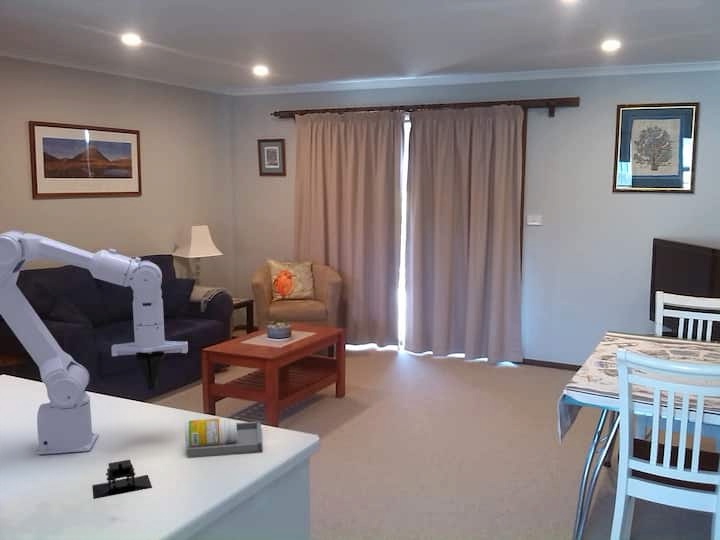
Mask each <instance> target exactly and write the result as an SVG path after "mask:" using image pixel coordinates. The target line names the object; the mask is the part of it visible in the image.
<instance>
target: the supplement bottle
mask: <svg viewBox="0 0 720 540" xmlns="http://www.w3.org/2000/svg"><path fill="white" fill-rule="evenodd" d="M236 423H237V421H236V420H229V421H228V422H227V421H226V420H225V418H220V417H219V418H208V419H207V418H206V419H195V420H186V421H185V425H184V427H185V429H184V430H185V431H184V432H185V433H184V434H185V435H184V437H185V448H186V450H187V449H188V448H192V447H206V446H220V445H225V444H226V442H227V441H230V442H235V441H237V426H236Z"/></svg>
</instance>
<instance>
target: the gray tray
mask: <svg viewBox="0 0 720 540" xmlns="http://www.w3.org/2000/svg"><path fill="white" fill-rule="evenodd" d="M236 426H237V441H235V442H230V441H227V442H226V444H225V445H220V446H206V447H192V448H188V449H187V448H186V451H187V458H197V457H198V458H200V457H211V456H212V457H213V456H226V454H228V455H238V454H251V453H252V454H253V453H262V452H263V443H262V442H263V441H262V422H261V421H245V422H236Z"/></svg>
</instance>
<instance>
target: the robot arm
mask: <svg viewBox="0 0 720 540" xmlns="http://www.w3.org/2000/svg"><path fill="white" fill-rule="evenodd" d="M42 259H46V260H52V261H55V262H59V263H62V264H67V265H71V266H74V267H79V268H82V269H86V270H88V271H89V272H90V274H91V276H92V278H94V279H98V280H101V281H104V282H108V283H111V284H114V285H118V286H121V287H124V288H125V287H130V288H131V290H132V292H133V294H132V296H133V301H132V312H133V315H132V317H133V332H134V342H127V343H117V344H112V346H111V348H110V349H111V357H118V356H126V355H127V356H129V355H130V356H131V355H135V359H134V361H135V363H136V364H137V366H138V367H139V369H140V371H141V373H142V375H143V377H144V379H145V382H146V387H147V390H148V391H155V390H156V389H157V386H158V377H159V372H160V370H161V366H162V363H163V360H164V357H165V355H166V354H175V353H181V354H187V353H188V351H189V343H188V341H178V340H177V341H176V340H175V341H173V340H172V341H171V340H166V339H165V321H164V318H165V317H164V300H163V298H162V296H163V292H162V291H163V290H162V288H161V286H162V282H163V280H162V279H163V273H162V270H161V268H160V267H159V266H158V265H157V264H155V263H154V262H151V261H150V260H142V258H140V257H137V256H136V257H135V258H132V257H129V256H125V255H123V254H118V253H117V249H113V248H109V249H108V250H106V249H101V250H99V251H97V252H95V253H92V252H89V251H88V250H84V249H81V248H79V247H76V246H73V245H70V244H67V243H63V242H61V241H57V240H55V239H52V238H49V237H46V236H42V235H38V234H35V233H29V232H27V233H24V232H23V231H20V230H14V229H12V230H7V231H4V232H3V233H1V234H0V315H1V317H2V319H4V322H6V324H7V325H8V327H9V328H10V329H11V330H12V332H13V334H14V335H15V337H16V338H17V339H18V340H19V342H20V343H21V344H22V346H23V347H24V350H26V351H27V353H28V354H29V356H30V357H31V359H32V360H33V362H35V364H36V365H37V367H38V368H39V372H40V374H39V375H40V378H41V381H42V382H43V384H44V385H45V387H46V392H47V393H46V395H47V398H48V400H49V403H48V402H47V403H41V404H40V405H39V407H38V410H37V415H36V425H37V426H36V428H37V437H38V438H37V441H38V451H37V454H38V455H49V454H50V455H51V454H64V453H66V454H67V453H80V452H90V451H91V449H92V447H93V446H94V444H95V443H96V441H97V439H98V438H99V433H93V426H92V424H93V423H92V411H91V408H92V407H91V398H90V395H89V394H88V393H87V392H86V390H85V389H86V388H87V386H88V385H89V383H90V373H89V371H88V369H86V368H85V366H83V365H82V364H80V363H78V362H77V361H75V360H74V358H73V357H72V356H71V355H70V354H68V353H67V352H65V351H64V350H63V349H62V347H61V346H60V344H59V343H58V342H57V340H56V338H54V336H53V335H52V333H51V332H50V330H49V329H48V328H47V326H46V324H45V323H44V322H43V321H42V319H41V318H40V316H39V315H38V313H36V311H35V309H34V308H33V306H32V305H31V304H30V302H29V301H28V299H27V298H26V297H25V295H24V294H23V293H22V291H21V289H20V287H18V286H17V281H18V278H19V275H20V272H21V269H22V267H23V265H24V264H25V263H26V262H27V263H28V262H33V261H38V260H42ZM141 260H142V261H141Z"/></svg>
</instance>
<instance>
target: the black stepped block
mask: <svg viewBox="0 0 720 540" xmlns="http://www.w3.org/2000/svg"><path fill="white" fill-rule="evenodd" d="M131 461H132V460H131V459H125V460H120V461H114V462H108V464H107V465H108V467H107V468H106V472H105V476H107V477H106V481H107V482H102V483H96V484H92V485H91V487H92V498H93V500H96V499H100V498H102V499H103V498H107V497H112V496H117V495H122V494H127V493H134V492H138V491H144V490H149V489H152V488H153V486H152V483H151V479H150V477H149V475H148V474H145V475H139V476H136V471H135V468H134V466H133V464H132V462H131ZM143 489H144V490H143Z"/></svg>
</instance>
